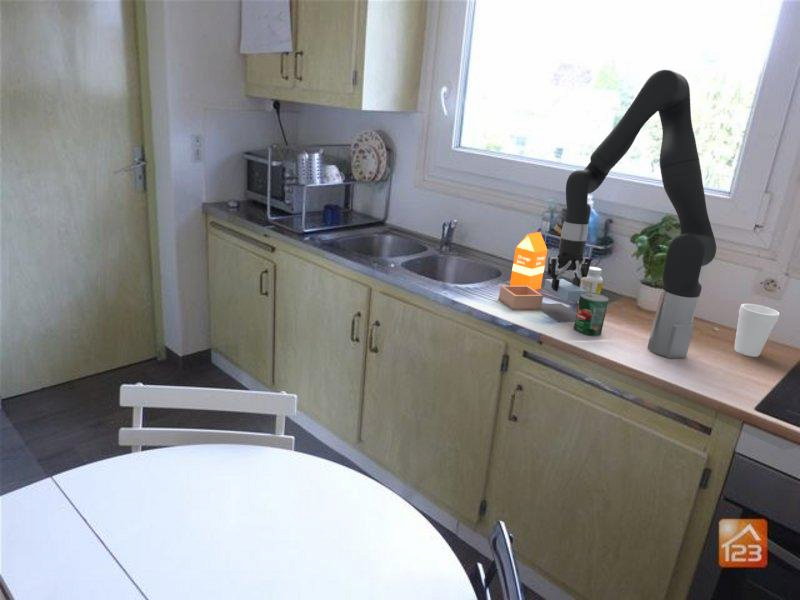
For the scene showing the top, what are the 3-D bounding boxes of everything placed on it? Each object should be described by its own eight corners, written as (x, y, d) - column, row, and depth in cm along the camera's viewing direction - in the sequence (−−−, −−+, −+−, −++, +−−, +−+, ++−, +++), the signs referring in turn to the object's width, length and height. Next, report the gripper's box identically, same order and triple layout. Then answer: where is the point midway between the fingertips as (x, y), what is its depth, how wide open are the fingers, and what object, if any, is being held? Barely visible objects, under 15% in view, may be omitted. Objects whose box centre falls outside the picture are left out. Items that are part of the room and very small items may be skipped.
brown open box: (540, 310, 180) (543, 295, 178) (512, 311, 177) (514, 295, 175) (525, 299, 189) (527, 285, 187) (498, 300, 186) (500, 285, 184)
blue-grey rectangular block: (585, 300, 171) (586, 290, 170) (566, 300, 169) (568, 291, 168) (561, 287, 183) (563, 278, 182) (544, 288, 181) (545, 279, 180)
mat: (589, 322, 173) (589, 321, 173) (557, 323, 170) (558, 322, 170) (560, 304, 188) (560, 303, 188) (531, 305, 184) (531, 303, 184)
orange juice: (540, 288, 204) (550, 234, 197) (527, 292, 197) (537, 236, 191) (522, 282, 208) (531, 229, 202) (509, 286, 202) (517, 231, 196)
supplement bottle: (594, 303, 193) (602, 266, 188) (599, 309, 186) (607, 272, 182) (574, 300, 193) (582, 264, 189) (578, 307, 187) (586, 269, 183)
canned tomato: (606, 334, 165) (614, 298, 162) (591, 339, 160) (599, 302, 157) (582, 325, 171) (589, 290, 167) (567, 329, 166) (574, 294, 162)
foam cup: (731, 342, 168) (744, 301, 164) (767, 352, 162) (781, 310, 158) (725, 351, 161) (738, 308, 156) (762, 362, 155) (777, 317, 151)
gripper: (559, 239, 165) (551, 294, 170) (601, 240, 170) (591, 293, 175) (546, 234, 172) (538, 287, 177) (586, 235, 176) (577, 286, 181)
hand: (564, 290), depth 176 cm, fingers closed on blue-grey rectangular block, 6 cm apart
